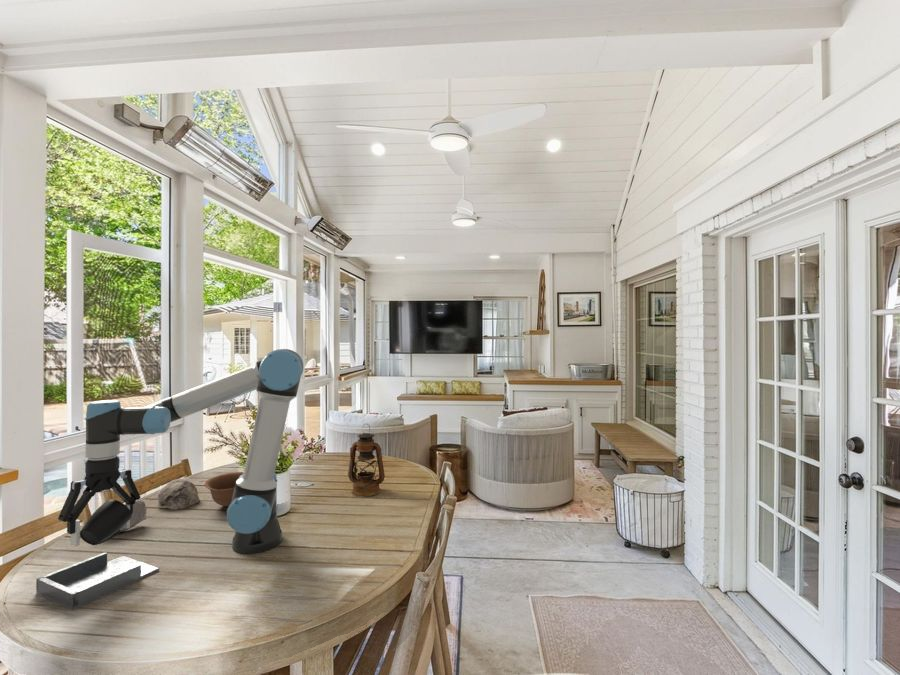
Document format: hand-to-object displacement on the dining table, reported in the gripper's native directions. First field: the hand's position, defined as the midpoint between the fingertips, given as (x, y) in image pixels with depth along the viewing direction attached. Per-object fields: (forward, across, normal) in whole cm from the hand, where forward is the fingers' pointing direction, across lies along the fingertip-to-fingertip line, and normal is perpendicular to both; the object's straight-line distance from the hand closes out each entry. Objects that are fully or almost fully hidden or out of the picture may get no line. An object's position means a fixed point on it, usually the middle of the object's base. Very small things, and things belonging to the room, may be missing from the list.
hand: (101, 535), depth 124 cm
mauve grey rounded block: (+13, -22, -30) cm, 39 cm away
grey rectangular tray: (+13, +1, 0) cm, 13 cm away
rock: (+13, -46, -36) cm, 60 cm away
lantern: (+12, -91, +23) cm, 95 cm away
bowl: (+13, -55, -15) cm, 59 cm away
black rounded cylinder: (0, +4, +2) cm, 5 cm away
